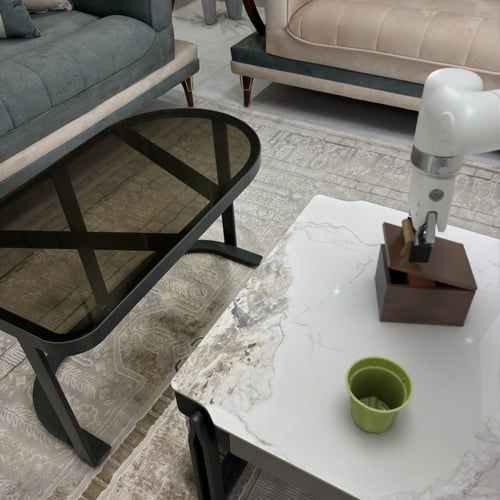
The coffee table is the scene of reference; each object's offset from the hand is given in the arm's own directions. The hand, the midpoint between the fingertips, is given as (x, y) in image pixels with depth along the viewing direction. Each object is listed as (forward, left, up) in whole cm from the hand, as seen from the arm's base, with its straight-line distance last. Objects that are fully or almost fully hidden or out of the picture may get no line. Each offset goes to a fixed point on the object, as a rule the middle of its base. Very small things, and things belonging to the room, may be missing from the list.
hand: (415, 247), depth 86 cm
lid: (-2, 0, -2) cm, 3 cm away
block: (-2, 0, -12) cm, 13 cm away
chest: (-2, 0, -13) cm, 13 cm away
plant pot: (+8, +25, -13) cm, 29 cm away
